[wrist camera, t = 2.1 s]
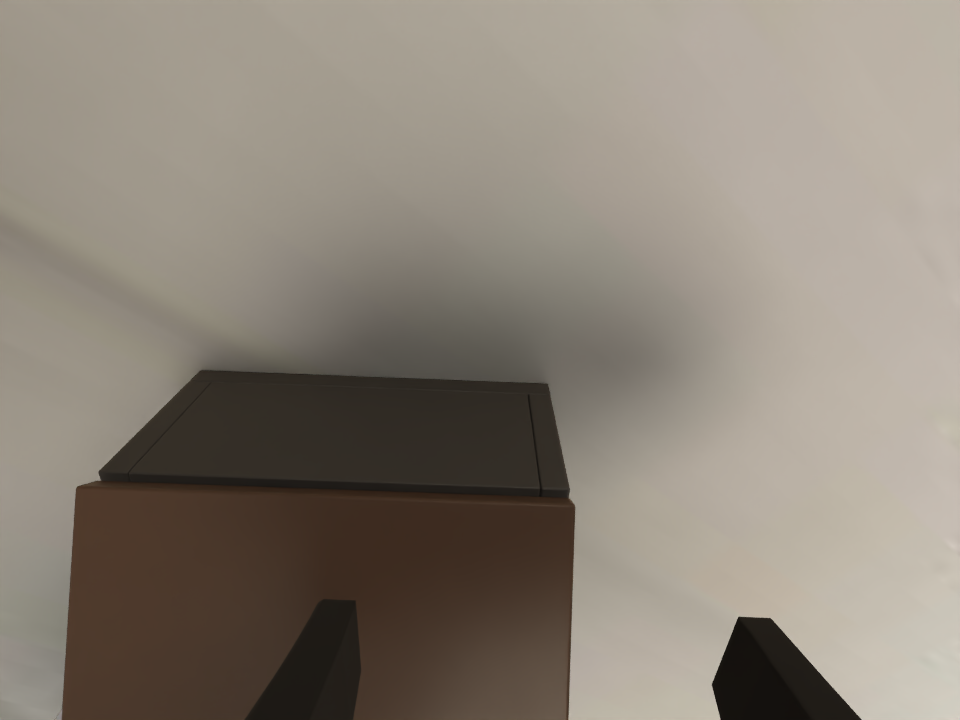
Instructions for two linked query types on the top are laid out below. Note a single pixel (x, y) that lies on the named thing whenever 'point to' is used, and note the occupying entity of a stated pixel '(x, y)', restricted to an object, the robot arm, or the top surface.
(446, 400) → the dark gray box
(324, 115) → the top surface
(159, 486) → the brown box lid
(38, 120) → the top surface
